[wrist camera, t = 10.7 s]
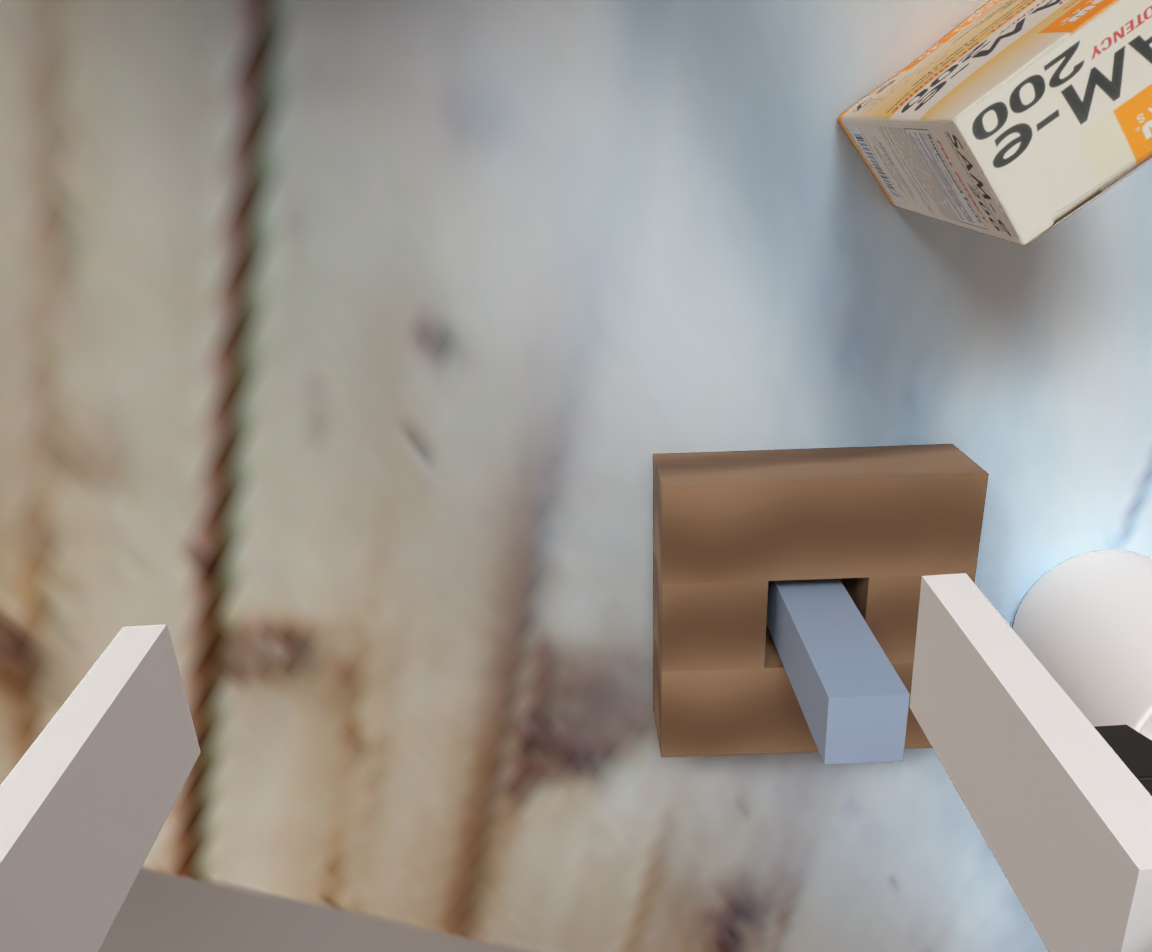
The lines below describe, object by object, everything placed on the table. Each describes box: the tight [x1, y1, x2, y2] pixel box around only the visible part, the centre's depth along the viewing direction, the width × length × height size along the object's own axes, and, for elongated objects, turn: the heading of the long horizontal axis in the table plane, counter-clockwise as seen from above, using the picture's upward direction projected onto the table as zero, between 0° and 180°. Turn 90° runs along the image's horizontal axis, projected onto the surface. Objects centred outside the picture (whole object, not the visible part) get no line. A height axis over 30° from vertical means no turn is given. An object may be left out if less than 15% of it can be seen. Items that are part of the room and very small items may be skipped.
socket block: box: [653, 444, 989, 757], centre depth 45 cm, size 14×14×4 cm
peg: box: [766, 579, 910, 765], centre depth 41 cm, size 3×3×12 cm
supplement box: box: [837, 0, 1152, 245], centre depth 33 cm, size 8×5×13 cm, turn 128°
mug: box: [1013, 550, 1152, 740], centre depth 44 cm, size 9×12×11 cm
